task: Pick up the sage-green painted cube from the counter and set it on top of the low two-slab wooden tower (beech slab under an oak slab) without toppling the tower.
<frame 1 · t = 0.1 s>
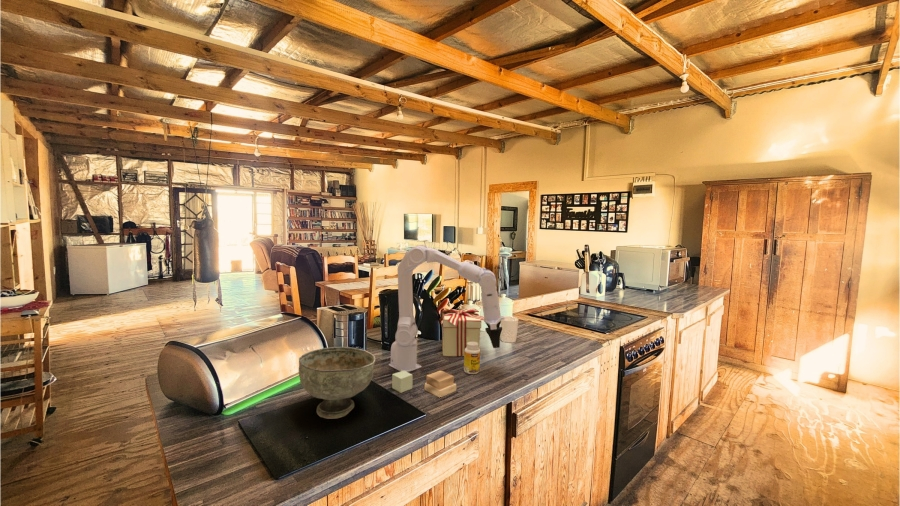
hand: (496, 343, 128), 11 cm above the worktop, tool pointing down, fingers open, 7 cm apart
bottom slab: (440, 391, 116), on the worktop
cube: (402, 388, 116), on the worktop
bowl: (337, 409, 103), on the worktop
beige speckled cup: (508, 340, 165), on the worktop
gift box: (462, 352, 150), on the worktop
top slab: (440, 383, 115), point 2 cm above the worktop
supplement bottle: (471, 372, 130), on the worktop
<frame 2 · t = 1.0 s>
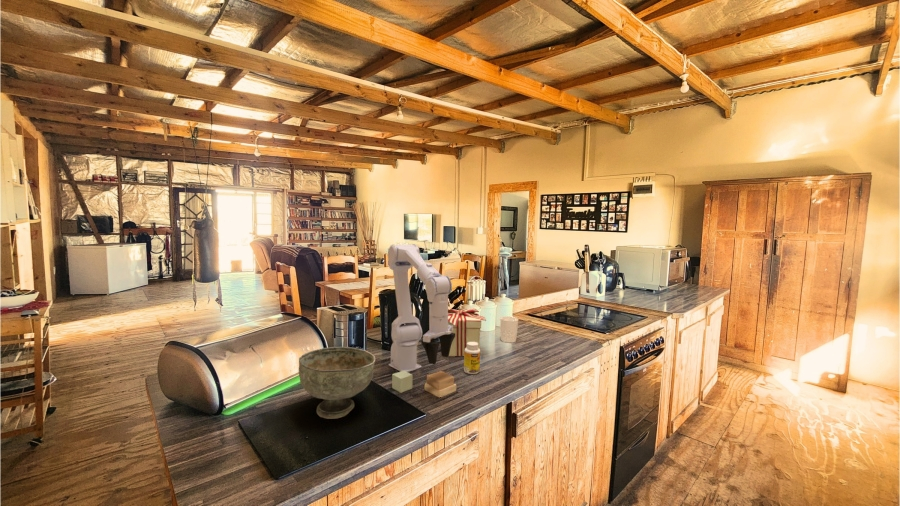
hand: (439, 359, 113), 10 cm above the worktop, tool pointing down, fingers open, 7 cm apart
bottom slab: (440, 391, 116), on the worktop, touching top slab
top slab: (440, 384, 115), point 2 cm above the worktop, touching bottom slab
everything else where it was.
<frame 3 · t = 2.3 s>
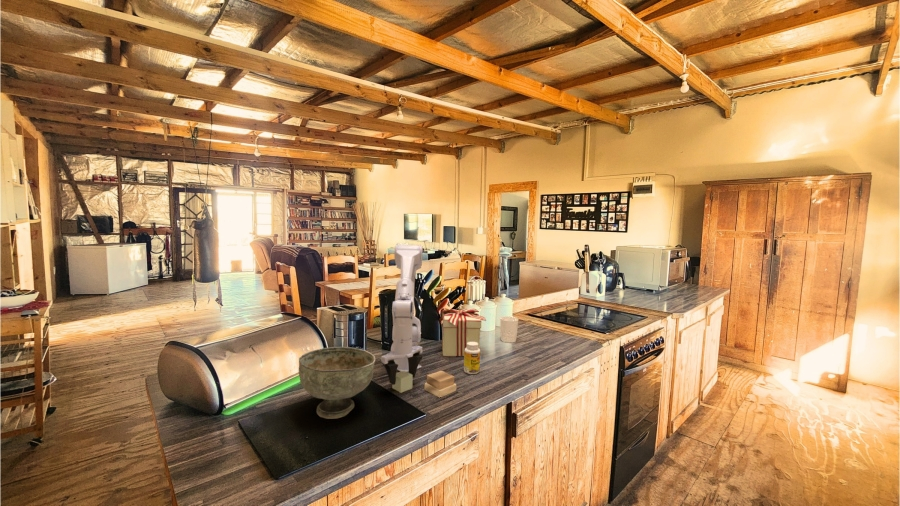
hand: (402, 380, 116), 3 cm above the worktop, tool pointing down, fingers open, 7 cm apart
nothing on the worktop moved.
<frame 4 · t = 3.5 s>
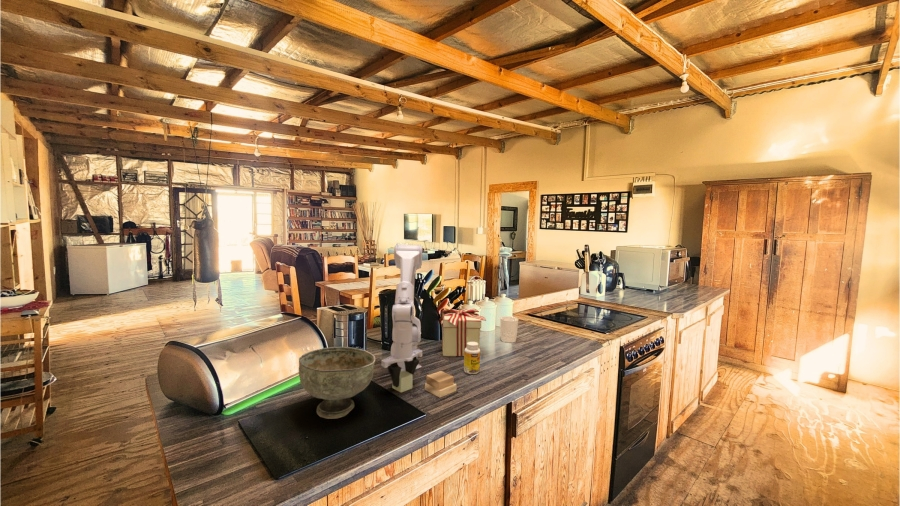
hand: (402, 383, 116), 1 cm above the worktop, tool pointing down, fingers closed on cube, 4 cm apart
cube: (402, 388, 116), on the worktop, touching gripper
everything else where it was.
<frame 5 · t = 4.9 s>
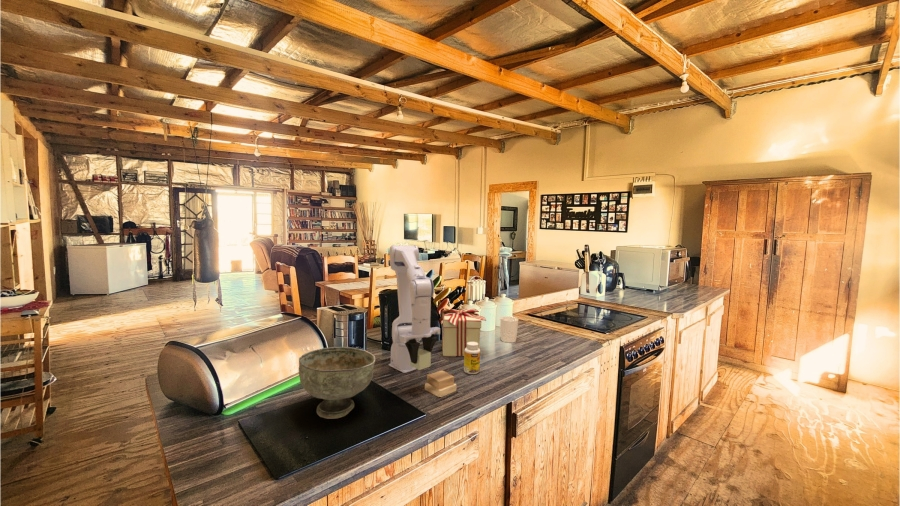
hand: (420, 360, 115), 9 cm above the worktop, tool pointing down, fingers closed on cube, 4 cm apart
cube: (420, 366, 115), point 7 cm above the worktop, touching gripper
everything else where it was.
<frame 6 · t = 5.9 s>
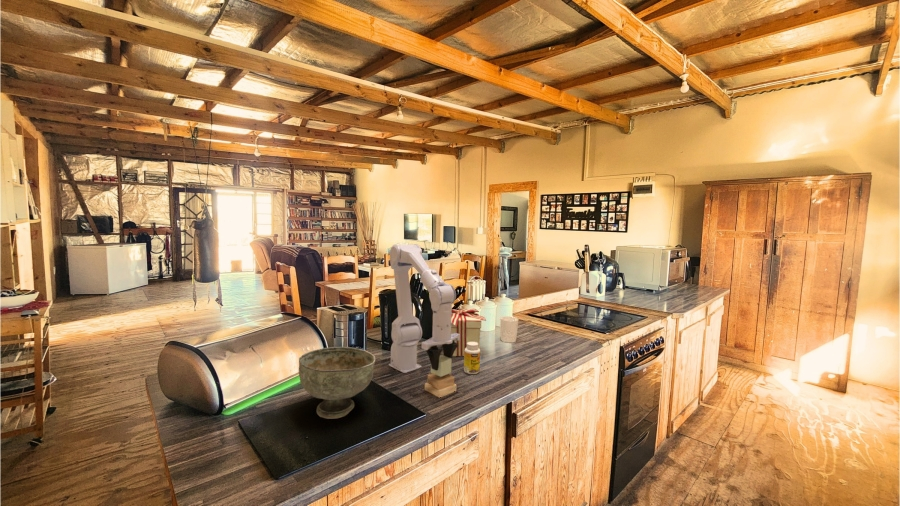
hand: (440, 367, 115), 7 cm above the worktop, tool pointing down, fingers closed on cube, 4 cm apart
cube: (440, 372, 115), point 6 cm above the worktop, touching gripper
everything else where it was.
when the fingers open (7 cm above the worktop, at t = 6.5 s): cube drops 1 cm, resting on top slab.
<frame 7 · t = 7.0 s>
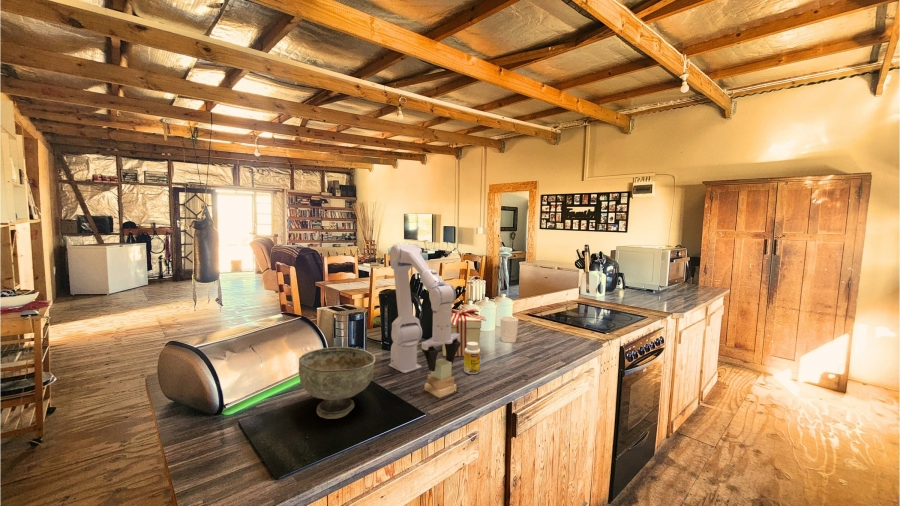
hand: (440, 367, 115), 7 cm above the worktop, tool pointing down, fingers open, 7 cm apart
bottom slab: (440, 391, 115), on the worktop
cube: (441, 376, 115), point 4 cm above the worktop, touching top slab
top slab: (440, 384, 115), point 2 cm above the worktop, touching cube
everything else where it was.
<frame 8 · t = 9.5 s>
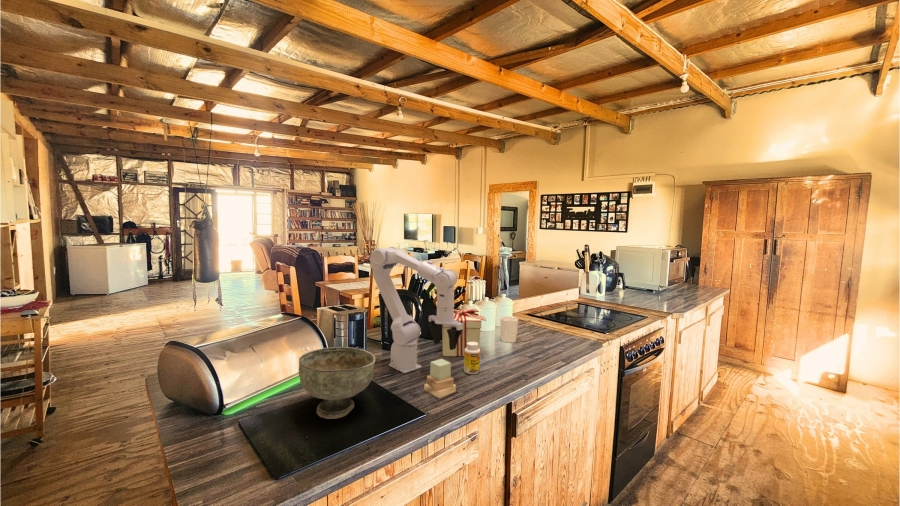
hand: (444, 346, 125), 10 cm above the worktop, tool pointing down, fingers open, 7 cm apart
bottom slab: (439, 392, 115), on the worktop, touching top slab
top slab: (440, 385, 115), point 2 cm above the worktop, touching bottom slab, cube
everything else where it was.
at the end: cube 0.6 cm off-centre on the top slab, point 2.5 cm above the top slab's base; top slab tilted 0°; the gripper is holding nothing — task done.
